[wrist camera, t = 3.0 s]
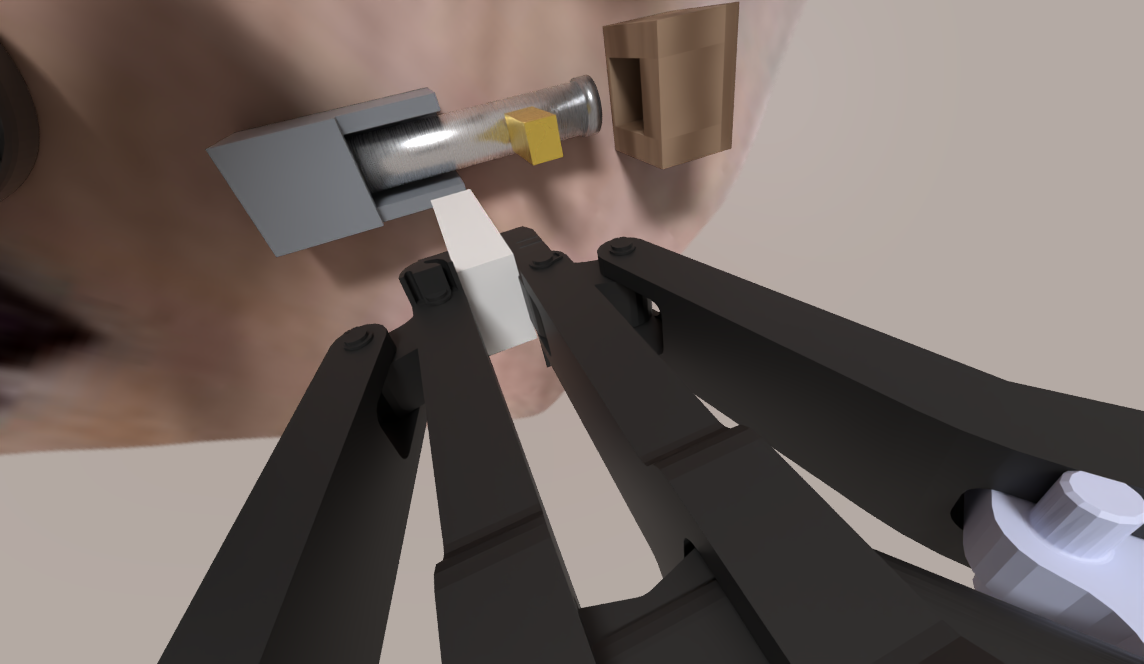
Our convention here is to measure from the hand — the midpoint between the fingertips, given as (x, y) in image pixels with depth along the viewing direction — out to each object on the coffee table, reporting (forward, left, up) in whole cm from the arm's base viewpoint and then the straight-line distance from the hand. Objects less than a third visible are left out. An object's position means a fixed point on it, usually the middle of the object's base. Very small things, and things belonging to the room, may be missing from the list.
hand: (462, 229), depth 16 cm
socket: (+18, 0, -20) cm, 27 cm away
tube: (+2, 0, -20) cm, 20 cm away
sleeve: (-4, 0, -20) cm, 20 cm away
